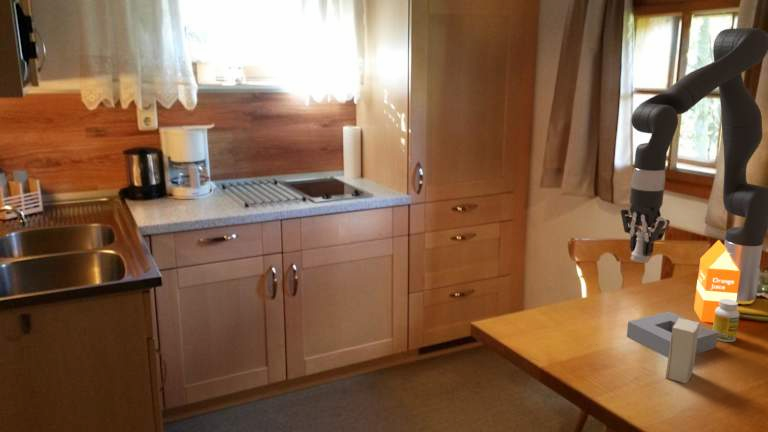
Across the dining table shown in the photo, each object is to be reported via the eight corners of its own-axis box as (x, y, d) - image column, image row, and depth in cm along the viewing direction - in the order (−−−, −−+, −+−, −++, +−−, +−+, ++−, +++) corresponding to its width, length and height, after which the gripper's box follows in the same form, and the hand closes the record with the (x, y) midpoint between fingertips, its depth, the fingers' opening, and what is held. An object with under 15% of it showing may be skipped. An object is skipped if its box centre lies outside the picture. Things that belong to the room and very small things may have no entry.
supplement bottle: (718, 331, 159) (724, 295, 157) (740, 339, 155) (745, 302, 152) (706, 336, 156) (711, 300, 154) (728, 344, 152) (733, 307, 150)
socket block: (666, 325, 162) (668, 311, 161) (715, 348, 150) (717, 332, 149) (626, 336, 156) (628, 321, 155) (674, 360, 144) (676, 344, 143)
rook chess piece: (646, 264, 157) (649, 233, 155) (628, 260, 160) (630, 230, 158) (651, 259, 160) (654, 229, 158) (633, 256, 163) (636, 226, 161)
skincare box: (672, 367, 141) (678, 316, 138) (693, 373, 139) (700, 321, 136) (665, 378, 136) (671, 326, 133) (687, 384, 134) (694, 332, 131)
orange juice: (724, 311, 171) (734, 240, 166) (733, 324, 163) (744, 250, 158) (693, 308, 173) (702, 238, 168) (700, 321, 165) (710, 248, 160)
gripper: (682, 190, 151) (674, 259, 155) (636, 179, 163) (630, 243, 167) (659, 193, 147) (652, 263, 152) (614, 182, 160) (608, 247, 164)
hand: (640, 252), depth 160 cm, fingers closed on rook chess piece, 3 cm apart
